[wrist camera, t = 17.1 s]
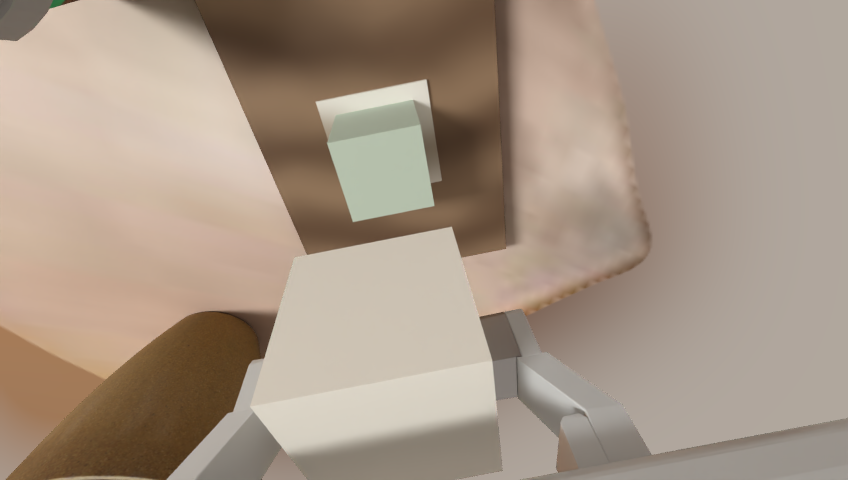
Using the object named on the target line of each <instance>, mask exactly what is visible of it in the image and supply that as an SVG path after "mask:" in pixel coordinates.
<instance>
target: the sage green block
mask: <svg viewBox="0 0 848 480" xmlns="http://www.w3.org/2000/svg"><path fill="white" fill-rule="evenodd" d="M327 145H328V148H329V151H330V154H331V157H332V160H333V163H334V166H335V169H336V172H337V175H338V178H339V181H340V184H341V187H342V190H343V193H344V196H345V199H346V202H347V205H348V208H349V211H350V214H351V217H352V220H353V222H356V221H361V220H366V219H371V218H376V217H381V216H386V215H391V214H396V213H402V212H407V211H412V210H417V209H422V208H427V207H432V206H434V200H433V194H432V189H431V183H430V177H429V171H428V166H427V160H426V154H425V148H424V142H423V137H422V131H421V125H420V122H419V118H418V115H417V112H416V108H415V105H414V102H413V100H409V101H404V102H399V103H394V104H389V105H384V106H379V107H374V108H369V109H364V110H359V111H354V112H349V113H344V114H339V115H336V116H335V119H334V122H333V125H332V129H331V132H330V135H329V139H328V142H327Z"/></svg>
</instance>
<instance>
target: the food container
mask: <svg viewBox="0 0 848 480" xmlns="http://www.w3.org/2000/svg"><path fill="white" fill-rule="evenodd" d="M74 1H78V0H0V40H11V41H17V40H19V39H20V38H21V37H23V36H24V35H26V34H27V33H28V32H30V31H31V30H33V29H34V28H35V26H36V25H37V24H38V23H39V22H40V20H41V19H42V18H43V17H44V16H45V14H46V13H47V12H48V10H49V9H50V8H53V7H57V6H60V5H64V4H67V3H71V2H74Z"/></svg>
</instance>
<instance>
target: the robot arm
mask: <svg viewBox="0 0 848 480" xmlns="http://www.w3.org/2000/svg"><path fill="white" fill-rule="evenodd" d="M479 318H480V321H481V325H482V328H483V331H484V335H485V338H486V341H487V344H488V348H489V351H490V354H491V358H492V362H493V373H494V384H495V395H496V400H501V399H508V398H514V397H518V399H519V400H521V401H522V402H523V403H524V404H525V405H526V406H527V407H528V408H529V409H530V410H531V411H532V412H533V413H534V414H535V415H536V416H537V417H538V418H539V419H540V420H541V421H542V422H543V423H544V424H545V425H546V426H547V427H548V428H549V429H550V430H551V431H552V432H553V433H554V434H555V435H556V436H557V437H558V438H559V443H558V454H557V464H556V469H557V471H558V473H554V474H549V475H543V476H538V477H532V478H527V479H522V480H848V418H846V419H841V420H835V421H830V422H824V423H820V424H814V425H809V426H803V427H798V428H793V429H788V430H782V431H777V432H771V433H766V434H761V435H755V436H750V437H745V438H740V439H734V440H729V441H724V442H718V443H713V444H708V445H702V446H697V447H692V448H686V449H681V450H676V451H671V452H665V453H660V454H654V455H651V453H650V451H649V449H648V448H647V446H646V444H645V442H644V441H643V439H642V437H641V436H640V434H639V432H638V431H637V429H636V427H635V425H634V424H633V422H632V420H631V418H630V417H629V415H628V413H627V411H626V410H625V408H624V406H623V404H621V403H620V402H618V401H617V400H616V399H614V398H613V397H611V396H610V395H608V394H607V393H606V392H604V391H603V390H601V389H600V388H598V387H596V386H595V385H594V384H593V383H591V382H590V381H588V380H587V379H585V378H584V377H582V376H581V375H579V374H578V373H577V372H575V371H574V370H572V369H571V368H569V367H568V366H566V365H565V364H564V363H562V362H561V361H559V360H558V359H556V358H555V357H553V356H552V355H551V354H549V353H548V352H544V353H542V352H541V350H540V348H539V345H538V343H537V341H536V339H535V336H534V334H533V332H532V330H531V327H530V325H529V323H528V321H527V318H526V316H525V314H524V312H523V310H521V309H517V310H512V311H507V312H501V313H496V314H491V315H486V316H481V317H479ZM263 361H264V358H263V359H258V360H253V361H252V362H251V363H250V364H249V366H248V369H247V372H246V375H245V378H244V381H243V384H242V387H241V390H240V393H239V396H238V399H237V402H236V405H235V408H234V411H233V412H231V413H228V414H227V415H226V416H225V417H224V418H223V419H222V420H221V421H220V422H219V423H218V424H217V426H216V427H215V428H214V429H213V430H212V431H211V432H210V433H209V434H208V435H207V436H206V437H205V438H204V440H203V441H202V442H201V443H200V444H199V445H198V446H197V447H196V448H195V449H194V450H193V451H192V453H191V454H190V455H189V456H188V457H187V458H186V459H185V460H184V461H183V462H182V463H181V464H180V465H179V467H178V468H177V469H176V470H175V471H174V472H173V473H172V474H171V475H170V476H169V477H168V478H167V480H261V479H262V478H263V476H264V474H265V473H266V471H267V470H268V468H269V467H270V465H271V463H272V462H273V460H274V459H275V457H276V455H277V454H278V452H279V451H280V449H281V448H282V447H281V445H280V444H279V443H278V442H277V440H276V439H275V438H274V437H273V435H272V434H271V433H270V432H269V430H268V429H267V428H266V426H265V425H264V424H263V423H262V421H261V420H260V419H259V418H258V416H257V415H256V414H255V413H254V411H253V410H252V409H251V408H250V405H251V401H252V398H253V395H254V391H255V388H256V385H257V381H258V378H259V374H260V371H261V368H262V364H263Z"/></svg>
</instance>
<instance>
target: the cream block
mask: <svg viewBox="0 0 848 480" xmlns="http://www.w3.org/2000/svg"><path fill="white" fill-rule="evenodd" d="M250 408H251V409H252V410H253V411H254V413H255V414H256V415H257V416H258V418H259V419H260V420H261V421H262V423H263V424H264V425H265V426H266V428H267V429H268V430H269V432H270V433H271V434H272V435H273V437H274V438H275V439H276V440H277V442H278V443H279V444H280V445H281V447H282V448H283V449H284V450H285V452H286V453H287V454H288V455H289V457H290V458H291V459H292V461H293V462H294V463H295V464H296V466H297V467H298V468H299V469H300V471H301V472H302V473H303V475H304V476H305V477H306V478H307V479H308V480H457V479H462V478H467V477H473V476H478V475H483V474H488V473H494V472H499V471H502V459H501V449H500V438H499V427H498V416H497V407H496V395H495V384H494V373H493V362H492V358H491V354H490V351H489V348H488V344H487V341H486V338H485V335H484V331H483V328H482V325H481V321H480V318H479V315H478V311H477V308H476V305H475V302H474V298H473V295H472V292H471V288H470V285H469V282H468V278H467V275H466V272H465V269H464V265H463V262H462V259H461V255H460V252H459V249H458V245H457V242H456V239H455V236H454V232H453V229H452V227H448V228H443V229H438V230H432V231H427V232H422V233H417V234H412V235H407V236H402V237H397V238H391V239H386V240H381V241H376V242H371V243H366V244H361V245H356V246H351V247H345V248H340V249H335V250H330V251H325V252H320V253H315V254H310V255H305V256H299V257H294V261H293V264H292V267H291V271H290V274H289V277H288V281H287V284H286V287H285V291H284V294H283V297H282V301H281V304H280V307H279V311H278V314H277V318H276V321H275V324H274V328H273V331H272V334H271V338H270V341H269V344H268V348H267V351H266V354H265V358H264V361H263V364H262V368H261V371H260V374H259V378H258V381H257V385H256V388H255V391H254V395H253V398H252V401H251V405H250Z"/></svg>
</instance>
